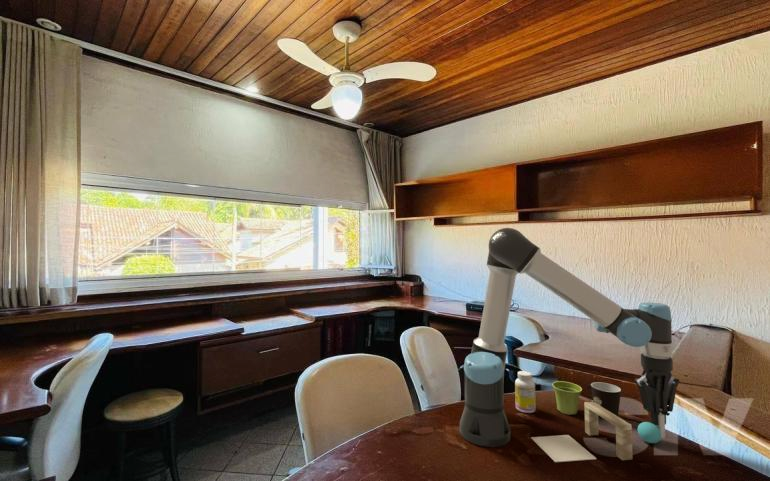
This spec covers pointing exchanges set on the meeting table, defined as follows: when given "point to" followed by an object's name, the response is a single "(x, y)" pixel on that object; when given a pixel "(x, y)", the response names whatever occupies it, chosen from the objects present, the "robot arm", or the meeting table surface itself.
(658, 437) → the ball
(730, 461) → the meeting table surface
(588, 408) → the bridge
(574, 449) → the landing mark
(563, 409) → the plant pot
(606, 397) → the coffee mug
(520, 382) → the supplement bottle
